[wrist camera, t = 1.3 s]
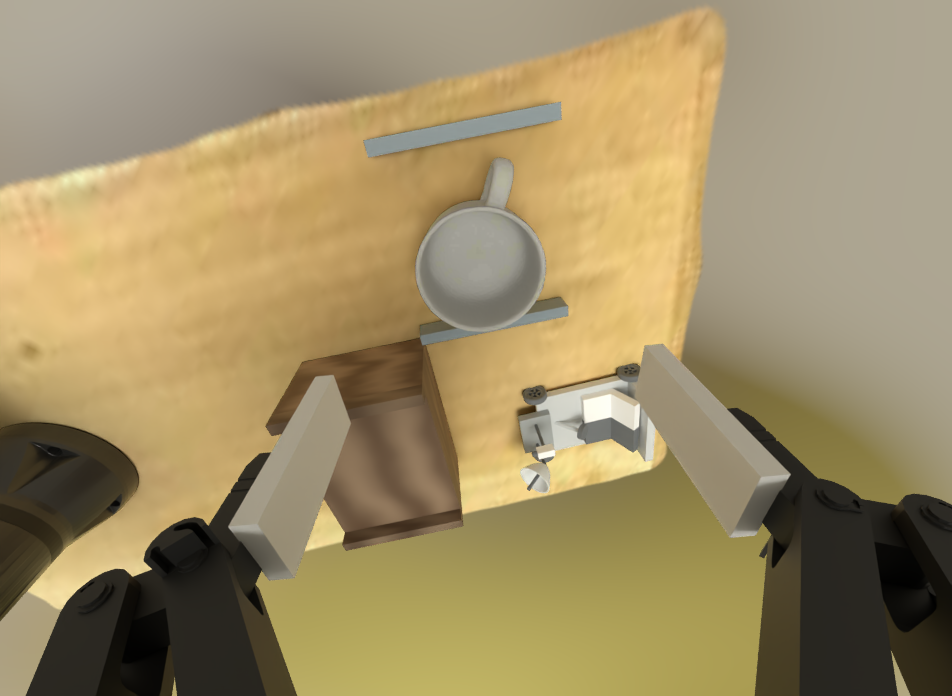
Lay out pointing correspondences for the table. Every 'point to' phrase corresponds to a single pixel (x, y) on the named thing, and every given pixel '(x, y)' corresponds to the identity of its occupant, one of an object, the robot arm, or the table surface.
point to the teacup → (481, 260)
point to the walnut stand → (386, 444)
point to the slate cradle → (461, 131)
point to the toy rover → (583, 421)
